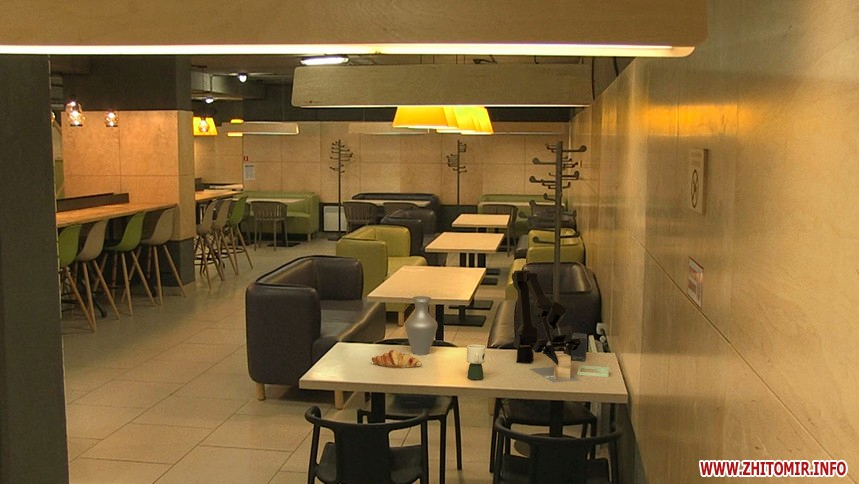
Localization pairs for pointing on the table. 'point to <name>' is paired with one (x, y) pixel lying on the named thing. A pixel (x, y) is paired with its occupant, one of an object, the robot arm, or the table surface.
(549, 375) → the ticket board
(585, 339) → the small box
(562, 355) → the stub
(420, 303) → the vase
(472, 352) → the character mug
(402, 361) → the croissant
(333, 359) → the table surface
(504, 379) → the table surface
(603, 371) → the tray
